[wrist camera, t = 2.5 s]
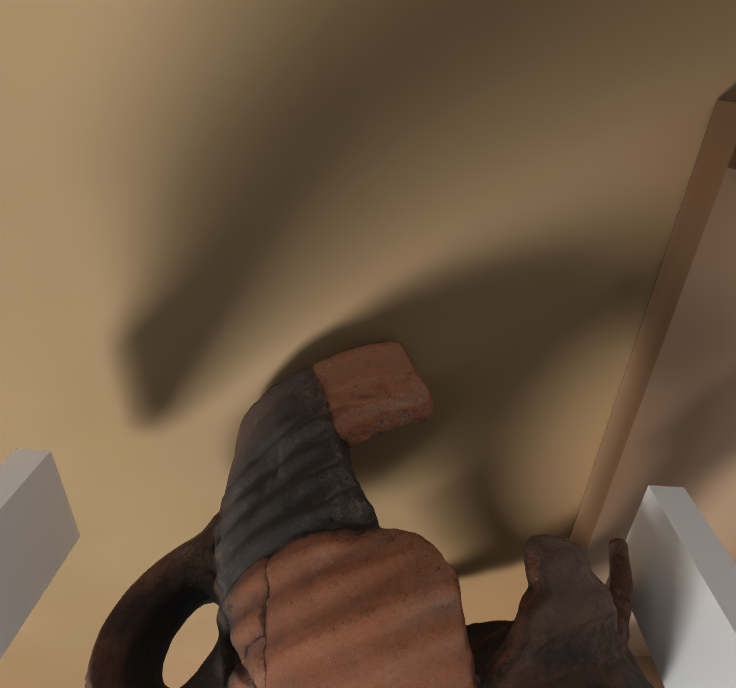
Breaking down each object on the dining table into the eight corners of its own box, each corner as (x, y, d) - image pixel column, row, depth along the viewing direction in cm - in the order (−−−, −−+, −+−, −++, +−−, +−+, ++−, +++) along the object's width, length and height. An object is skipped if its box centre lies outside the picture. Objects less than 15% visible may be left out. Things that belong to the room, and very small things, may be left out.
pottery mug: (513, 258, 11) (818, 692, 6) (501, 434, 19) (636, 691, 14) (-12, 456, 11) (-96, 1064, 6) (193, 552, 19) (226, 856, 14)
